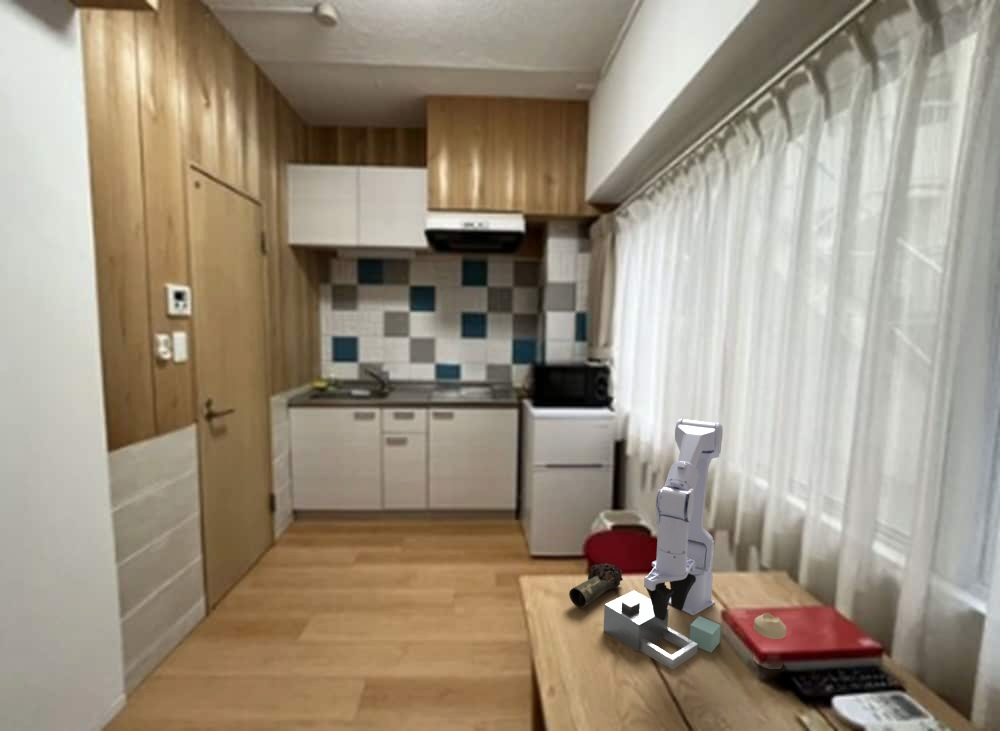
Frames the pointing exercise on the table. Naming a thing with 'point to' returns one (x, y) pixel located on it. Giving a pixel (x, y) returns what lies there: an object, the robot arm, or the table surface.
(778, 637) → the candle
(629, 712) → the table surface
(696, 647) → the silver box with frame
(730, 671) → the table surface
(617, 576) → the olive hollow tube
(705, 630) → the mint cube
